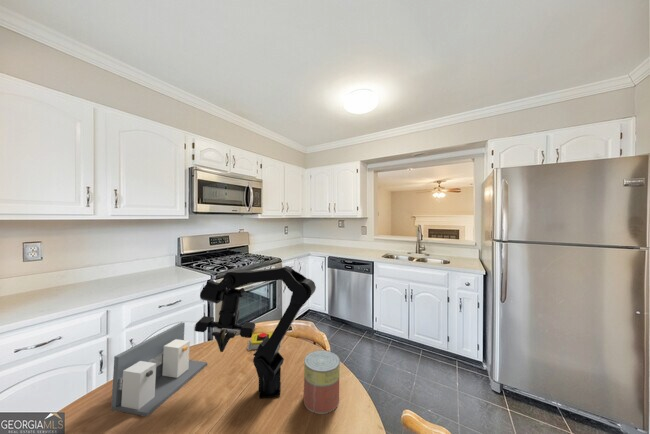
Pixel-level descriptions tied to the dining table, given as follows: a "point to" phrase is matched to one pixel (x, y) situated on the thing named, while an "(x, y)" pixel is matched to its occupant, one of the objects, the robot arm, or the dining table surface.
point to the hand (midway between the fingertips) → (222, 351)
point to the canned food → (321, 381)
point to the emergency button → (257, 340)
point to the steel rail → (157, 360)
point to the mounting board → (162, 383)
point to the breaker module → (175, 358)
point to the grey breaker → (138, 385)
